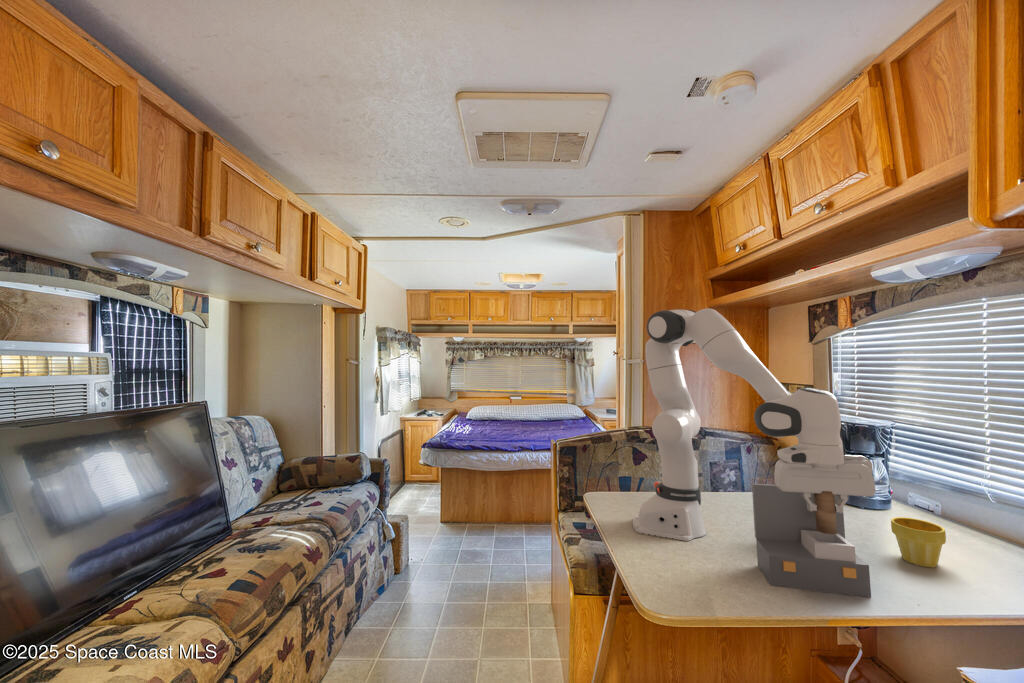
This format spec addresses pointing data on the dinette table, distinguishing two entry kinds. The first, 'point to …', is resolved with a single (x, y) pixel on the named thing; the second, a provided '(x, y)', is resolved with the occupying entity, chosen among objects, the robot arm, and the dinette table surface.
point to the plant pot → (919, 540)
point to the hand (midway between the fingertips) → (825, 511)
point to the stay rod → (825, 512)
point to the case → (804, 546)
